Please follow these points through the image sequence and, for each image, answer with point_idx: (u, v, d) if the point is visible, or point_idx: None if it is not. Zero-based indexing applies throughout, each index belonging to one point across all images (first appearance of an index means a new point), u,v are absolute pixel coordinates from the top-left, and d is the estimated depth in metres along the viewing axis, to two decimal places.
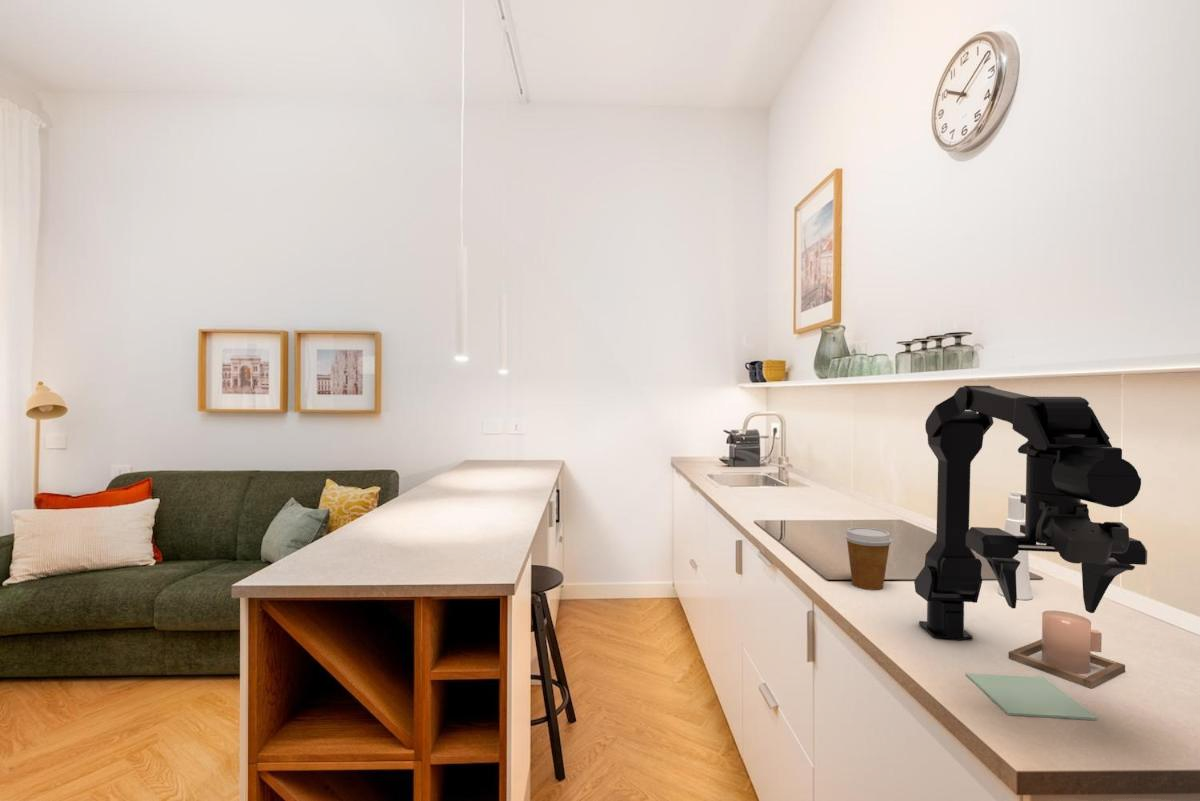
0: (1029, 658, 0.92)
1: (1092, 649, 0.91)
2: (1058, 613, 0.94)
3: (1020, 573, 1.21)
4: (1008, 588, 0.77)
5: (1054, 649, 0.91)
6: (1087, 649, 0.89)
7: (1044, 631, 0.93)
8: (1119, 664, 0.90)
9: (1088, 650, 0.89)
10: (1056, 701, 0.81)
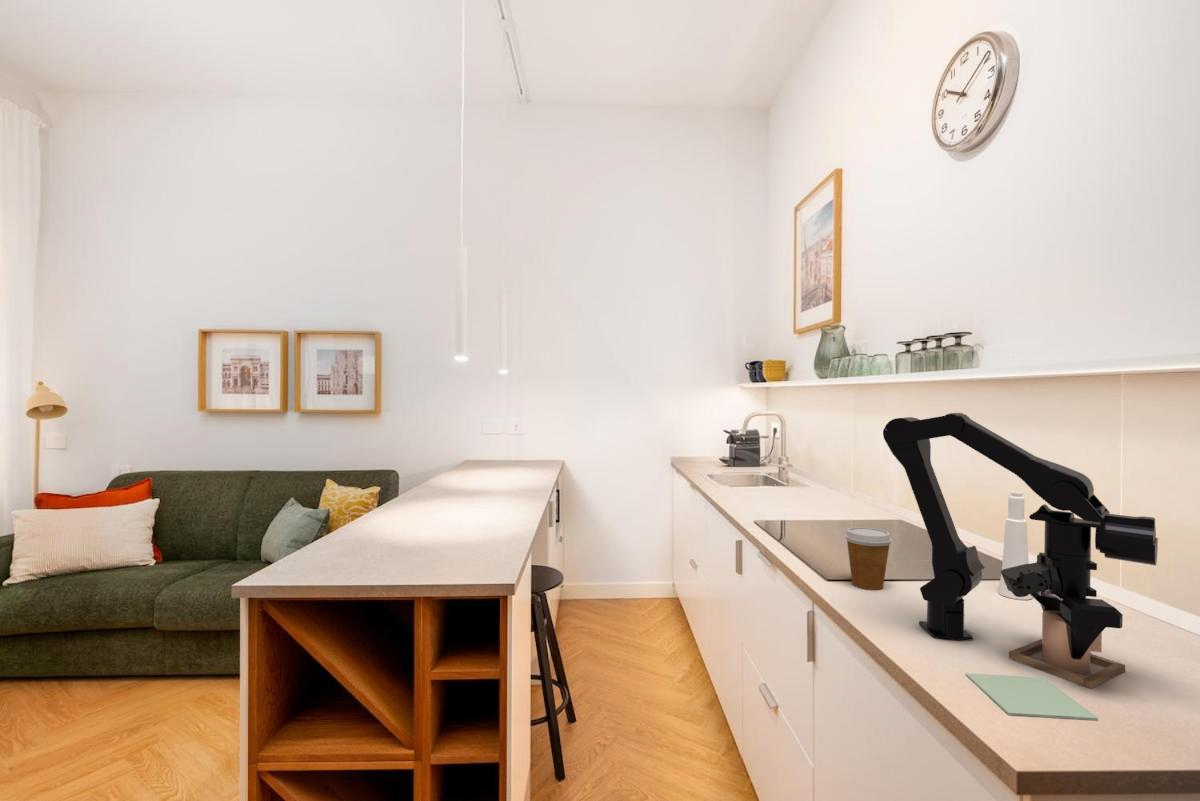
0: (1029, 658, 0.92)
1: (1092, 649, 0.91)
2: None
3: None
4: None
5: (1054, 649, 0.91)
6: None
7: (1044, 631, 0.93)
8: (1119, 664, 0.90)
9: (1088, 650, 0.89)
10: (1056, 701, 0.81)
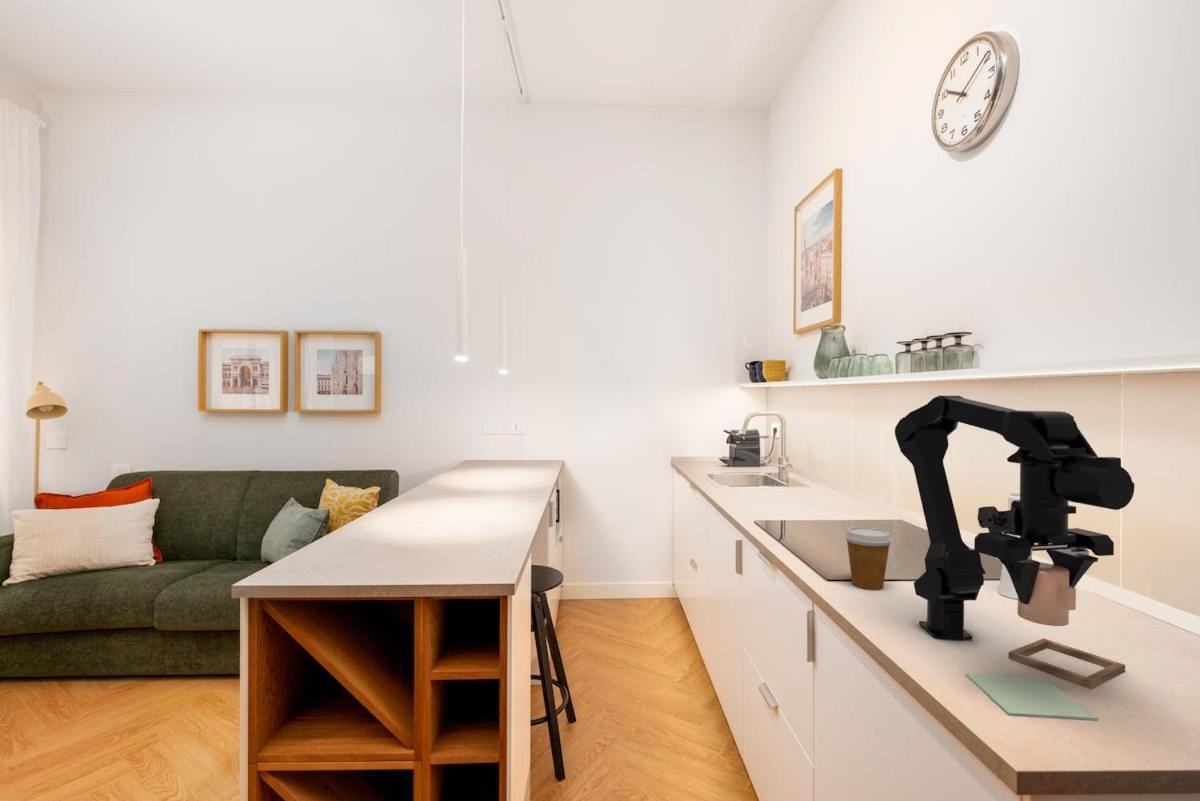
0: (1029, 658, 0.92)
1: (1060, 605, 0.83)
2: (1051, 566, 0.87)
3: None
4: None
5: None
6: (1041, 598, 0.84)
7: None
8: (1119, 664, 0.90)
9: (1043, 600, 0.84)
10: (1056, 701, 0.81)
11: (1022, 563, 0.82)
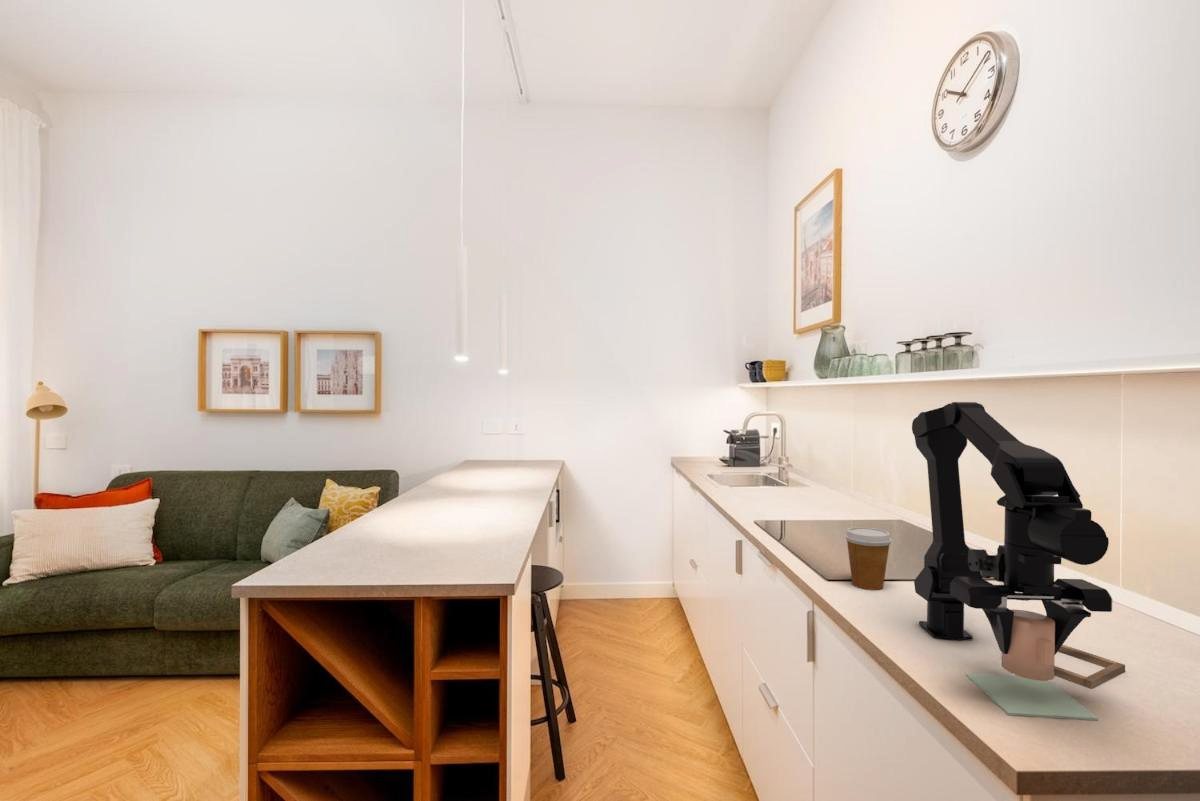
0: None
1: (1039, 658, 0.79)
2: (1040, 616, 0.83)
3: None
4: None
5: None
6: (1018, 649, 0.81)
7: None
8: (1119, 664, 0.90)
9: (1020, 651, 0.81)
10: (1056, 701, 0.81)
11: (992, 611, 0.80)
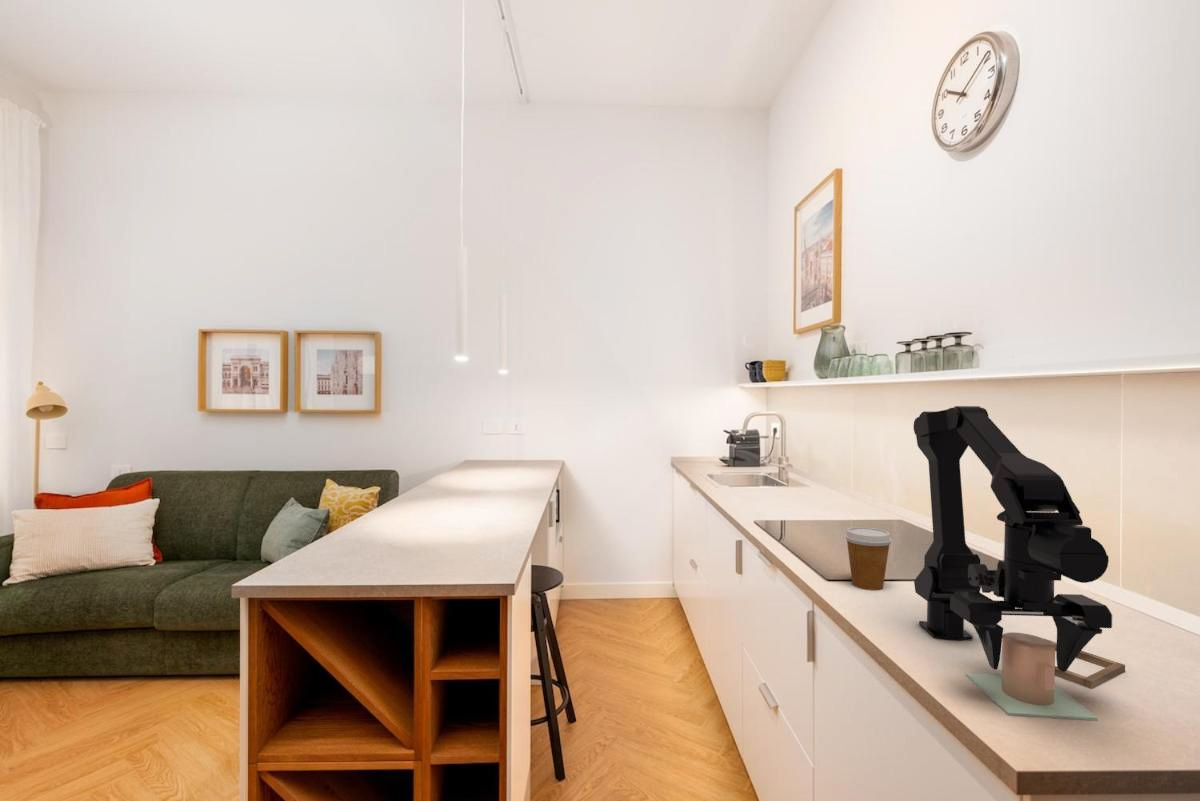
0: None
1: (1039, 683, 0.79)
2: (1040, 640, 0.83)
3: None
4: None
5: None
6: (1018, 673, 0.81)
7: None
8: (1119, 664, 0.90)
9: (1020, 675, 0.81)
10: (1056, 701, 0.81)
11: (981, 627, 0.80)
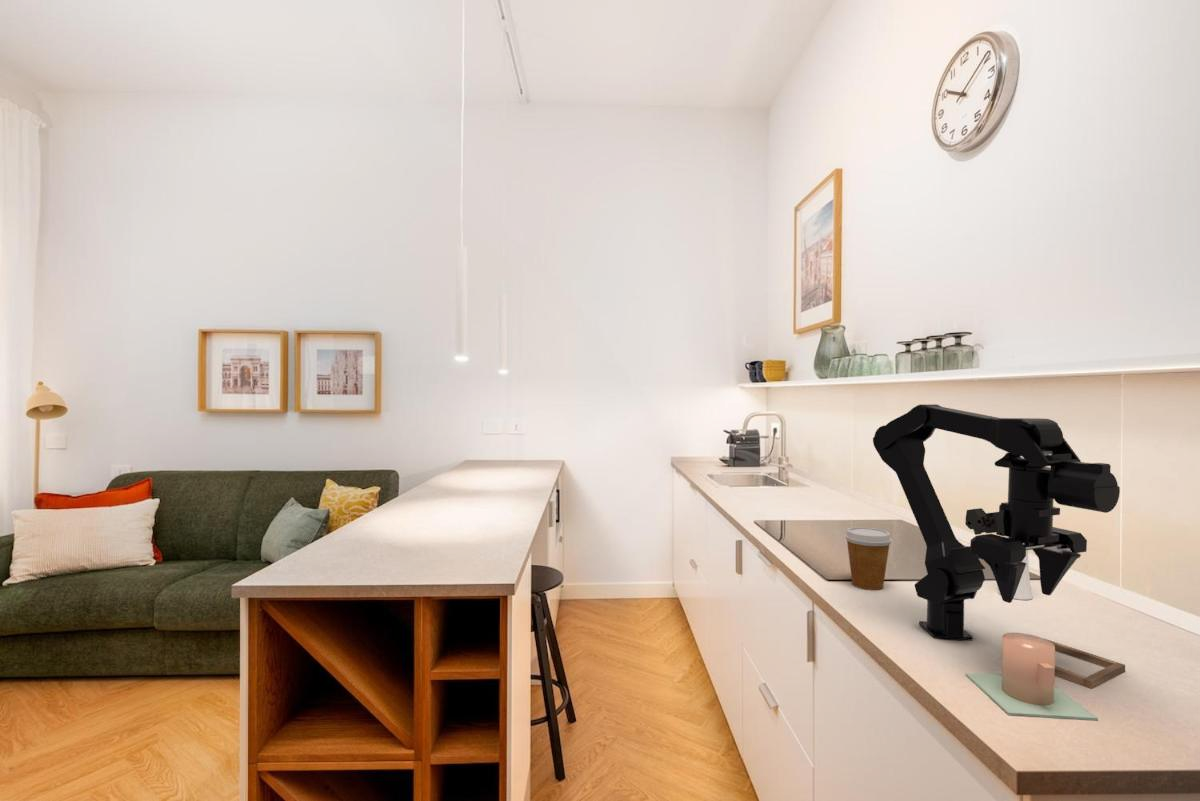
0: None
1: (1038, 683, 0.79)
2: (1040, 640, 0.83)
3: None
4: None
5: None
6: (1018, 673, 0.81)
7: None
8: (1119, 664, 0.90)
9: (1020, 675, 0.81)
10: (1056, 701, 0.81)
11: (1012, 565, 0.86)
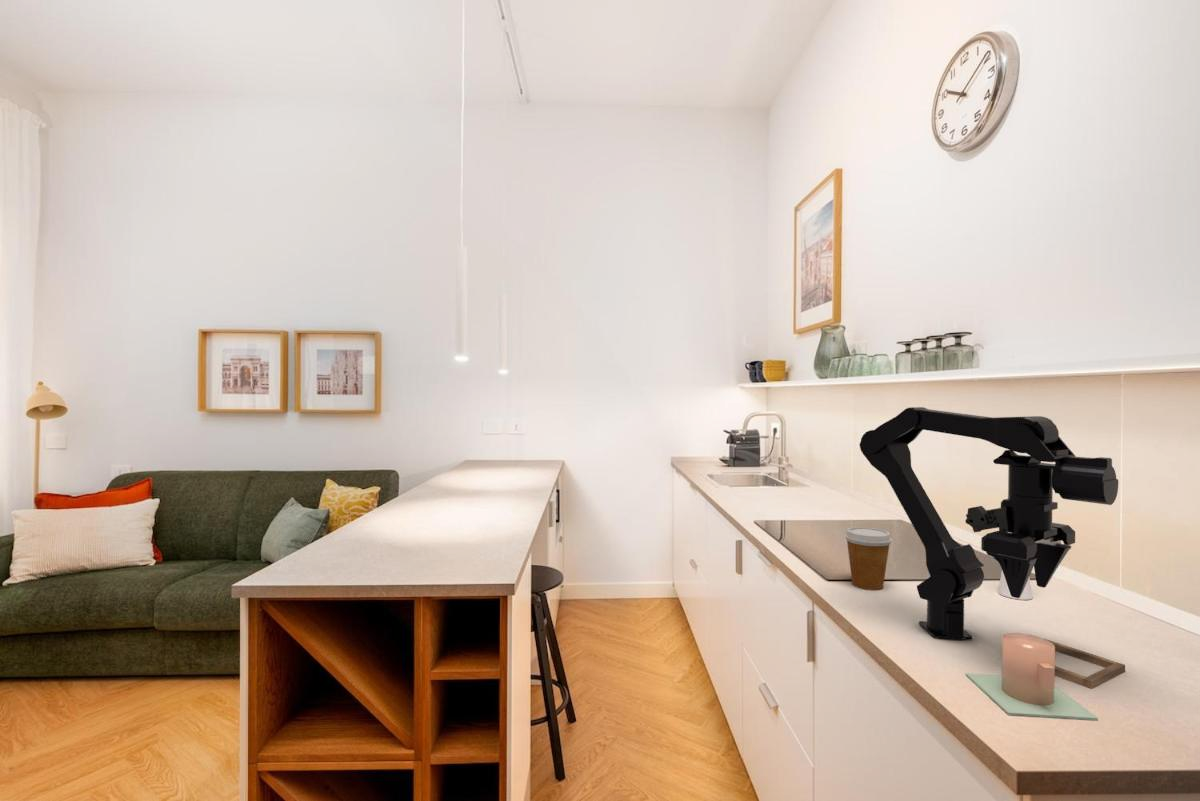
0: None
1: (1038, 683, 0.79)
2: (1040, 640, 0.83)
3: None
4: None
5: None
6: (1018, 673, 0.81)
7: None
8: (1119, 664, 0.90)
9: (1020, 676, 0.81)
10: (1056, 701, 0.81)
11: (1026, 561, 0.87)
